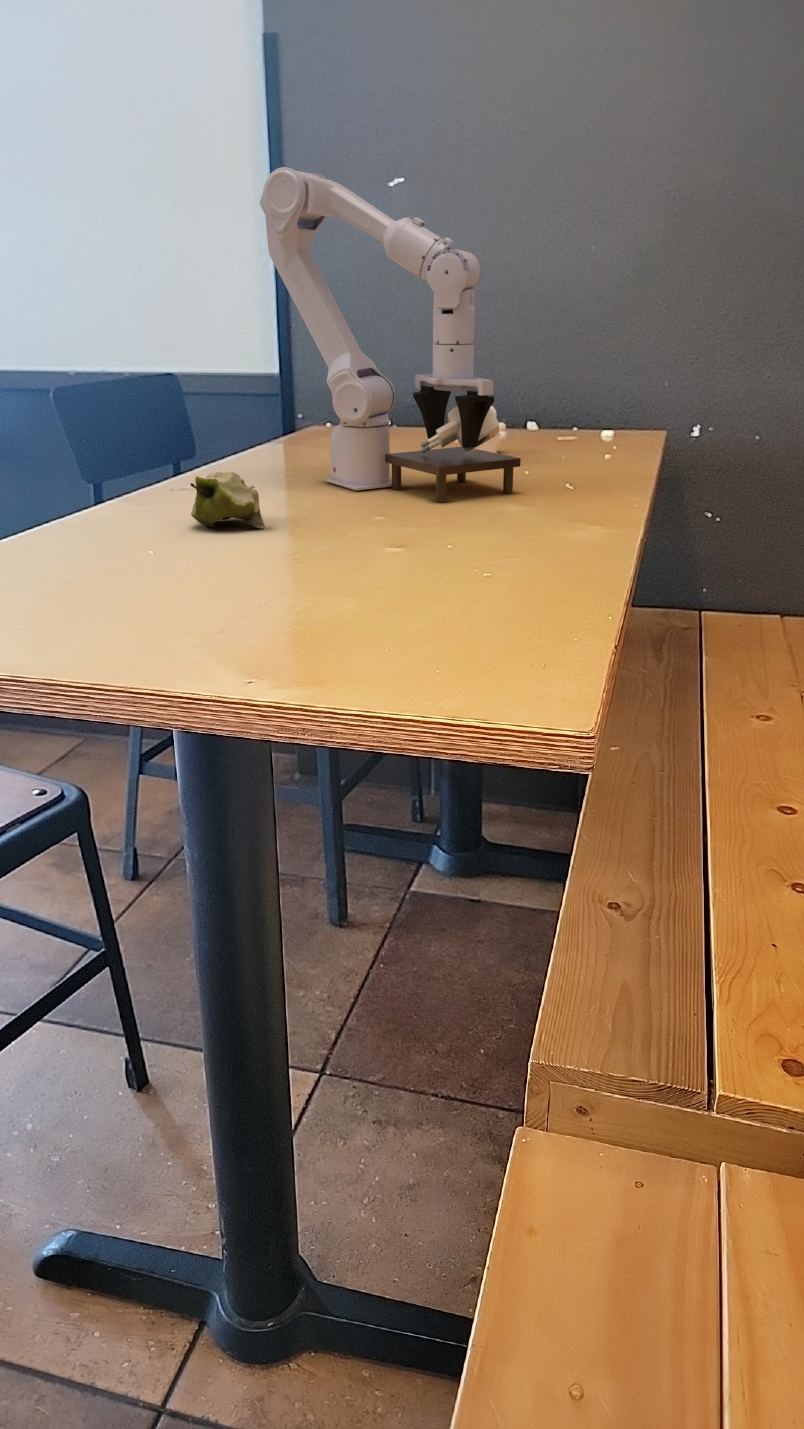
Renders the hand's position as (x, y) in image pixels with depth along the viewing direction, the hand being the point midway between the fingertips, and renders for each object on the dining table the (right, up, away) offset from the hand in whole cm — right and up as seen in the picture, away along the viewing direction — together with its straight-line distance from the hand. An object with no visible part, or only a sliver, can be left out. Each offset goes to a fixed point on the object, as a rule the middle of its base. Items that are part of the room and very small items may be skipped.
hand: (452, 444), depth 152 cm
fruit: (-29, -15, -19) cm, 38 cm away
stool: (0, -6, +2) cm, 7 cm away
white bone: (+6, +5, +31) cm, 33 cm away
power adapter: (+2, -1, 0) cm, 2 cm away
